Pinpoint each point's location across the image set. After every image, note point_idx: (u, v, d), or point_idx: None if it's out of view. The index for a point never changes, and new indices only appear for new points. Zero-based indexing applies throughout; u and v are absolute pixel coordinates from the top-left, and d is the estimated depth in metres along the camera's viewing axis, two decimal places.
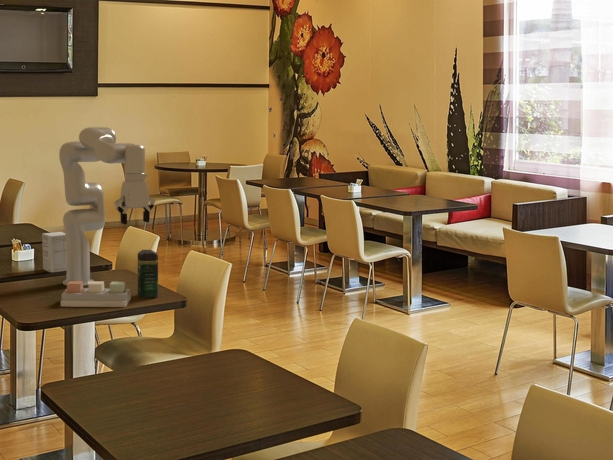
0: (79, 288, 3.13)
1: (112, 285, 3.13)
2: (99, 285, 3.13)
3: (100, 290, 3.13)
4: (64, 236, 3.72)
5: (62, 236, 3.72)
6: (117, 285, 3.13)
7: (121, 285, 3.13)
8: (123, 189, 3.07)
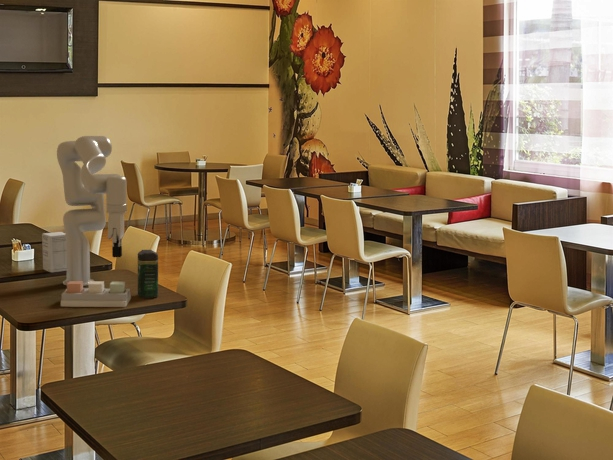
0: (79, 288, 3.13)
1: (112, 285, 3.13)
2: (99, 285, 3.13)
3: (100, 290, 3.13)
4: (64, 236, 3.72)
5: (62, 236, 3.72)
6: (117, 285, 3.13)
7: (121, 285, 3.13)
8: (114, 221, 3.07)
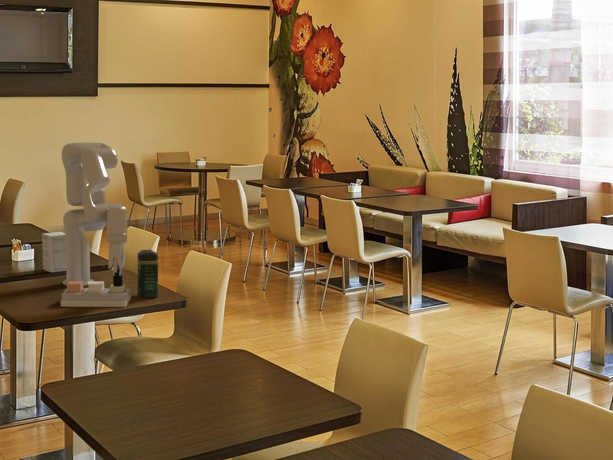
0: (79, 288, 3.13)
1: (112, 288, 3.13)
2: (99, 285, 3.13)
3: (100, 290, 3.13)
4: (64, 236, 3.72)
5: (62, 236, 3.72)
6: (117, 288, 3.13)
7: (121, 288, 3.13)
8: (114, 251, 3.09)
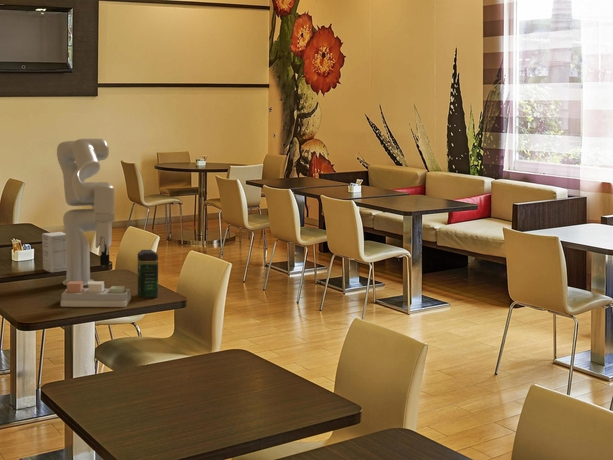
0: (79, 288, 3.13)
1: (112, 290, 3.13)
2: (99, 285, 3.13)
3: (100, 290, 3.13)
4: (64, 236, 3.72)
5: (62, 236, 3.72)
6: (117, 290, 3.14)
7: (121, 290, 3.14)
8: (102, 230, 3.08)
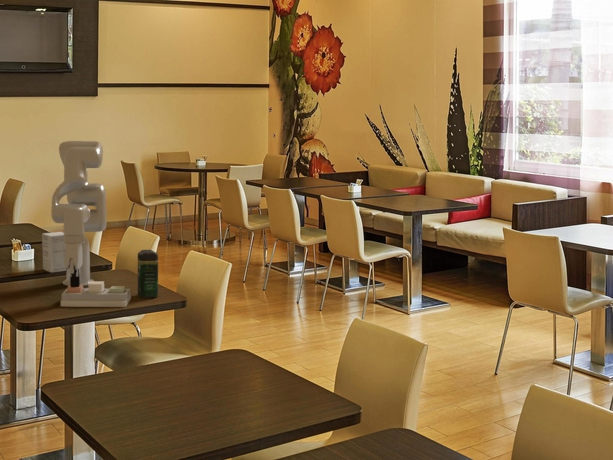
0: (79, 292, 3.13)
1: (112, 290, 3.13)
2: (99, 285, 3.13)
3: (100, 290, 3.13)
4: None
5: (62, 236, 3.72)
6: (117, 290, 3.14)
7: (121, 290, 3.14)
8: (71, 251, 3.08)
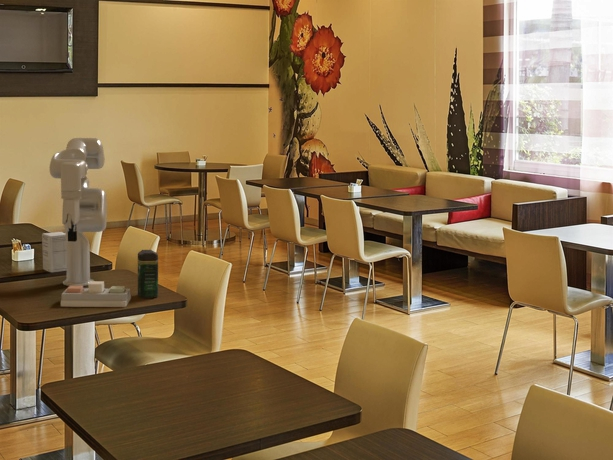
0: None
1: (112, 290, 3.13)
2: (99, 285, 3.13)
3: (100, 290, 3.13)
4: (64, 236, 3.72)
5: (62, 236, 3.72)
6: (117, 290, 3.14)
7: (121, 290, 3.14)
8: (68, 207, 3.13)
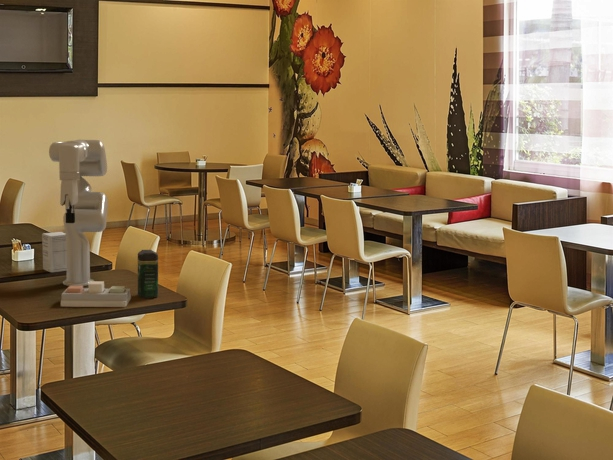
0: None
1: (112, 290, 3.13)
2: (99, 285, 3.13)
3: (100, 290, 3.13)
4: (64, 236, 3.72)
5: (62, 236, 3.72)
6: (117, 290, 3.14)
7: (121, 290, 3.14)
8: (66, 188, 3.16)
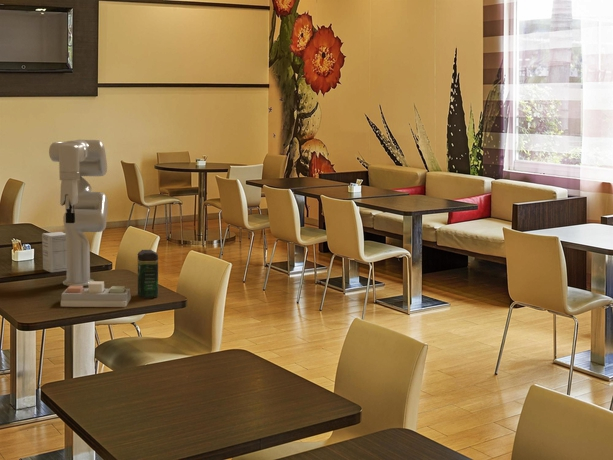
0: None
1: (112, 290, 3.13)
2: (99, 285, 3.13)
3: (100, 290, 3.13)
4: (64, 236, 3.72)
5: (62, 236, 3.72)
6: (117, 290, 3.14)
7: (121, 290, 3.14)
8: (66, 188, 3.16)
